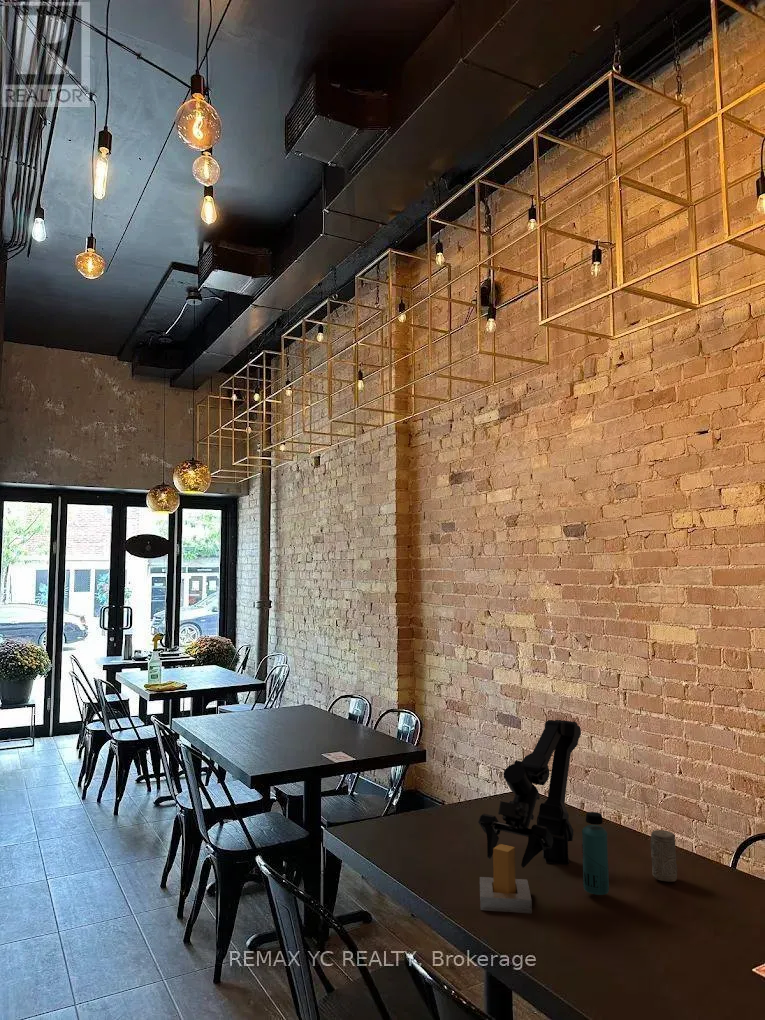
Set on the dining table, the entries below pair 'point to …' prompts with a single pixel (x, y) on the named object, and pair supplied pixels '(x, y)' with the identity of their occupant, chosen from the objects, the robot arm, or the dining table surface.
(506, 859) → the orange rectangular block
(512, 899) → the gray square socket base
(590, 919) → the dining table surface
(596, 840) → the beverage bottle
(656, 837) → the decorative vessel
